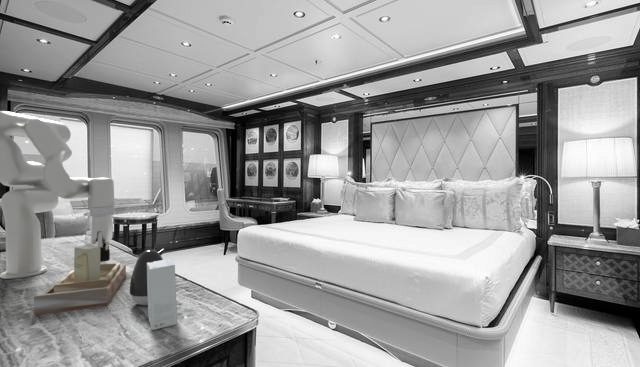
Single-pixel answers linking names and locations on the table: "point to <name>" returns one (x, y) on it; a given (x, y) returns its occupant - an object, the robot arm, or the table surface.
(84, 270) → the skincare box
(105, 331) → the table surface
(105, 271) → the birch crate
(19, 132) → the robot arm
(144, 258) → the black penguin figurine
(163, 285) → the skincare box
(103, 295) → the wooden serving tray
